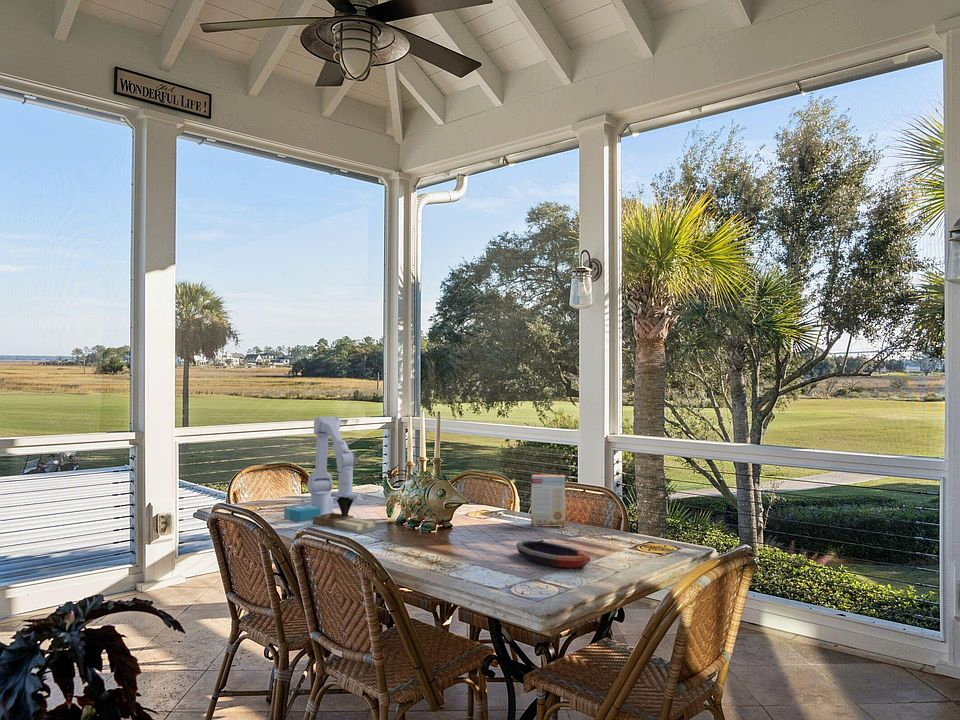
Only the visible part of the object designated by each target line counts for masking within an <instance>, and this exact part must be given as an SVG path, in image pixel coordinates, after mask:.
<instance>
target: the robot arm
mask: <svg viewBox="0 0 960 720" xmlns="http://www.w3.org/2000/svg"><path fill="white" fill-rule="evenodd" d="M340 427H341V419H340V418H339V417H338V416H316V417H315V419H314V422H313V434H314V435H316V449H315V450H316V451H315V467H314V468H315V469H314V471H313V472H312V473H310V474H309V475H308V479H307V484H306V489H307V492H308V493H309V494H310V505H312V506H316V507H320V508H321V515H323V514H328V513H335V511H334V498H337V499H336V502H337V504H338V507H339V509H340V514H342V516H343V517H345V516H348V515H349V511H350V508H351V506H352V504H353V502H354V500H355V501H359V500H361V495H360V494H357V493H353V485H354V483H353V482H354V481H353V479H354V478H353V477H354V473H353V472H354V467H355V465H356V461H357V460H356V455H355V453H354V451H353V452H352V451H350V449H349V446H348V444H347V442H346V441H345V440H344V439H342V435H341V433H340ZM329 437H330V439H331V441H332V443H333V444H332V449H333V452H334V454H335V457H336V459H335V462H336V467H337V468H336V469H337V472H338V481H337V482H338V483H337V484H338V485H337V486H338V487H337V489H338V490H337V491H332V489H333V479H332V478H333V477H332V475H331V474H330V473H329V472H328V471H327V470H328V469H327V468H328V467H327V466H328V451H329V450H328V448H329Z"/></svg>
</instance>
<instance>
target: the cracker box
mask: <svg viewBox="0 0 960 720" xmlns="http://www.w3.org/2000/svg"><path fill="white" fill-rule="evenodd" d="M530 493H531V498H530V499H531V501H530V502H531V503H530V505H531V506H530V511H531V513H530V525H565V526H566V512H565V511H566V475H565V474H531V492H530Z"/></svg>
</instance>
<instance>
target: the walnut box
mask: <svg viewBox="0 0 960 720" xmlns="http://www.w3.org/2000/svg"><path fill="white" fill-rule="evenodd" d="M350 518H354V515H350V514H348V516H345V517H343V516H342V514H341V513H336V512H334V513H328V514H323V515H318V516H314V517H313V520H312V525H317V526H321V527H329V528H333V527H335V522H337V521H341V520H345V519H350Z"/></svg>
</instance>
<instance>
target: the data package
mask: <svg viewBox="0 0 960 720" xmlns="http://www.w3.org/2000/svg"><path fill="white" fill-rule="evenodd" d="M318 515H321V508H320V507H316V506H312V505H311V504H301V505H300V504H299V505H293V506H285V507H283V518H284V519H285V520H289V521H292V522H295V523H296V522H297V523H300V522H302V523H303V522H309V521H313V517H314V516H318Z"/></svg>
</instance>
